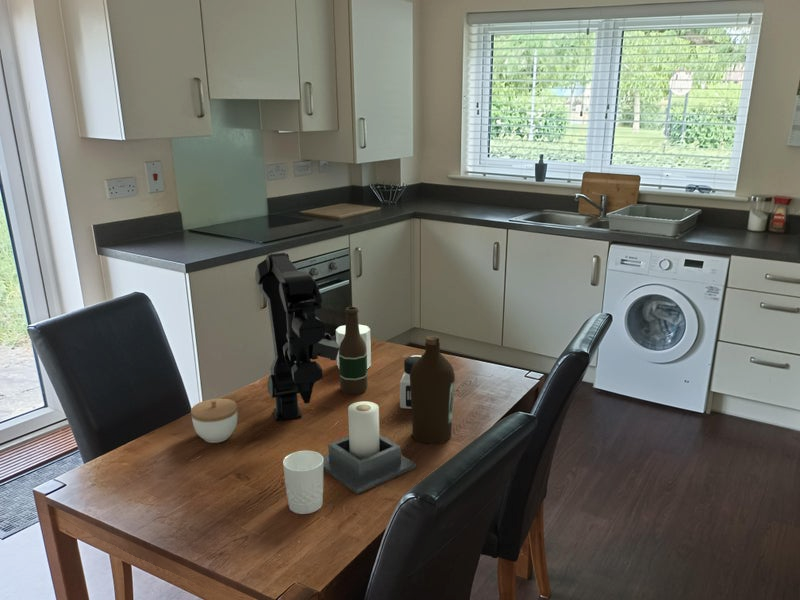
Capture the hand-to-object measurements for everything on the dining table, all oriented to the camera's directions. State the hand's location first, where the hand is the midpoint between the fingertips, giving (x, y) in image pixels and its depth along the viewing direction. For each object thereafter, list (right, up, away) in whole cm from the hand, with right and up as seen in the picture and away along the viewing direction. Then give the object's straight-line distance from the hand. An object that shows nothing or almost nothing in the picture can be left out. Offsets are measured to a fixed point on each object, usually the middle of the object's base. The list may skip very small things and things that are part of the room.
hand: (303, 394), depth 152 cm
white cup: (+3, -19, -19) cm, 28 cm away
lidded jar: (-22, -12, +8) cm, 26 cm away
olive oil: (+30, -11, +8) cm, 33 cm away
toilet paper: (+8, +1, +51) cm, 52 cm away
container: (+27, -6, +25) cm, 37 cm away
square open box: (+14, -15, -5) cm, 21 cm away
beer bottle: (+9, -4, +34) cm, 36 cm away
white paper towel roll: (+14, -14, -6) cm, 21 cm away
